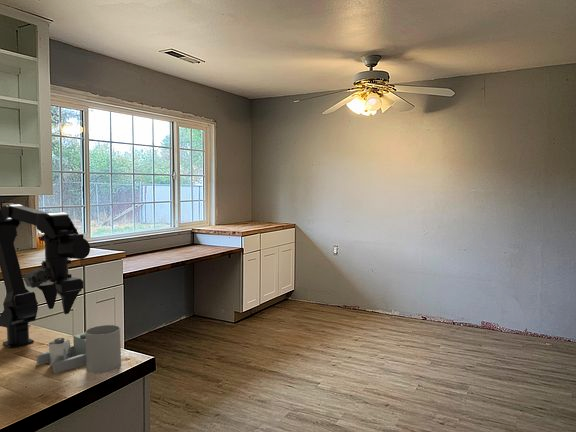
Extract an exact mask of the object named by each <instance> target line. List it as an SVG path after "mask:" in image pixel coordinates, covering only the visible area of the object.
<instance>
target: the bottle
mask: <svg viewBox="0 0 576 432" xmlns="http://www.w3.org/2000/svg"><path fill="white" fill-rule="evenodd" d="M70 346H71V340H70V338H69V339H68V338H64V337H57V338H54V340H52V341H50V342H49V343H48V352H49V354H50V362H49V366H50V367H51V369H53V363H54V362H58V361H61V360H64V359H68V358H71V357H72V356H71V352H70Z"/></svg>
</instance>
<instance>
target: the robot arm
mask: <svg viewBox="0 0 576 432" xmlns="http://www.w3.org/2000/svg"><path fill="white" fill-rule="evenodd" d="M22 222H23V223H25V224H29V225H33V226H35V228H36V229H37V230H38V231H39V232H41V233H43V235H42V236H40V238H39V241H40V242H44V254H45V255H44V260H42V262H41V266H40V267H38V268H36V269H33V270H31V271H29V272H27V273H25V274H24V275H23V274H22V270H21V266H20V261H19V259H18V254H17V250H16V246H15V241H16V238H17V235H18V231H17V229H18V227H19V226H21V224H22ZM90 251H91V245H90V243H89V241H88V240H87V239H85V237H84V234H83V233H81V234H80V233H79V232H78V229H77V227H76V226H75V225H74V223H73V220H72V219H71V218H70V215H69V213H66V212H61V211H60V212H58V211H55V212H52V211H51V212H49V211H48V212H46V211H42V210H39V209H36V208H33V207H29V206H28V207H27V206H25V205H22V204H20V203H13V204H11V203H10V204H5V205H3V206H2V207H1V208H0V271H1V276H2V280H3V283H4V287H5V290H6V295H5V298H4V301H3V304H2V305H3V310H2V312H1V314H0V327H2V328H6V340H5V341H2V344H3V345H4V346H5V347H9V348H11V349H12V348H13V349H14V348H17V347H19V346H25V345H29V344H31V343H34V341H35V340H33V339H31V338H30V325H29V322H34V321H36V320H37V319H36V318H37V314H38V309H39V302H38V301H37V297H36V293H35V291H29V289H27V288H26V287H28V288H29V287H30V288H31V289H34V288H37V289H38V290H40V291H42V295H43V297H44V299H45V302H46V304H47V307H48V309H49V310H52V309H54V307H55V303H56V300H57V296H58V295H59V296H60V298H61V302H62V303H61V304H62V309H63V314H64V315H68V314H69V313H70V312H71V310H72V307H73V304H74V303H75V300H76V299H77V297H78V295H79V294H80V292H81V291H82V290H83V289H85V281H84V280H83V279H82V278H79V277H72V273H69V265H71V264H72V259H74V260H75V259H76V260H84V259H86V258H87V257H88V256H89V254H90ZM25 285H26V286H25Z"/></svg>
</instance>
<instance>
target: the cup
mask: <svg viewBox="0 0 576 432" xmlns="http://www.w3.org/2000/svg"><path fill="white" fill-rule="evenodd" d="M84 333H85V334H86V364H85V365H86V371H87V372H88V373H90V374H106V373H111V372H113V371H117V370H118V369H120V368H121V366H122V346H121V345H122V344H121V343H122V342H121V341H122V340H121V327H120V326H119V325H115V324H114V325H113V324H104V325H103V324H102V325H97V326H93V327H90V328H88V329H86V331H85V332H84Z"/></svg>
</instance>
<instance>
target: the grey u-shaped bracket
mask: <svg viewBox="0 0 576 432" xmlns="http://www.w3.org/2000/svg"><path fill="white" fill-rule="evenodd" d="M72 338H73V342H72V343H73V344H72V345H71V344H70V352H71V358H68V359H64V360H61V361H58V362H54V363H53V368H52V374H55V375H56V374H58V373H59V374H60V373H62V372H65V371H68V370H71V369H74V368H78V367H80V366H83V365H87V364H86V334H85V332H82V333H78V334H75V335H73V337H72ZM75 355H76V356H75ZM35 356H36V365H38V366H41V365H44V364H48V363H50V354H49V351H46V352H43V353H39V354H36V355H35Z"/></svg>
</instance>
